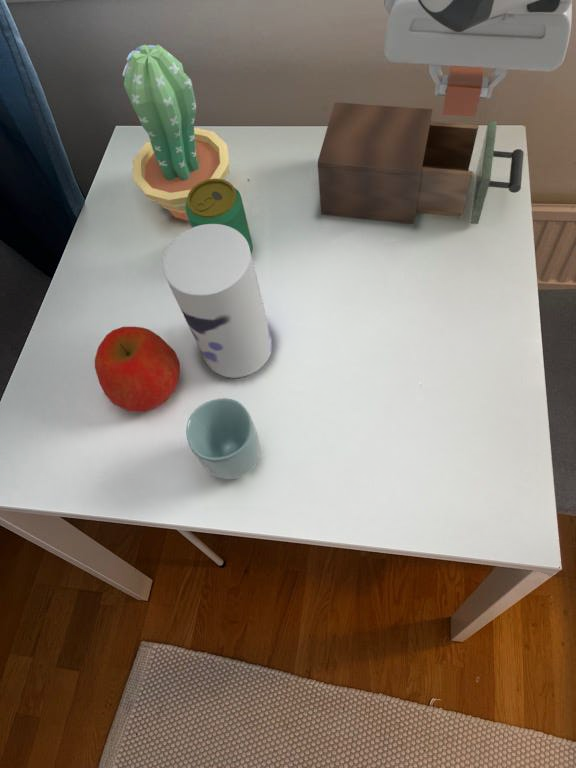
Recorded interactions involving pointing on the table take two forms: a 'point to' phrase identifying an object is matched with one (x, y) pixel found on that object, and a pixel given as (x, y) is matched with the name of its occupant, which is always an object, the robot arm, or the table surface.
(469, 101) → the block
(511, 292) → the table surface
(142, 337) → the apple
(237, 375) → the container
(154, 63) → the potted cactus
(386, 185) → the cabinet
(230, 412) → the cup
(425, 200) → the drawer
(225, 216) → the beverage can
